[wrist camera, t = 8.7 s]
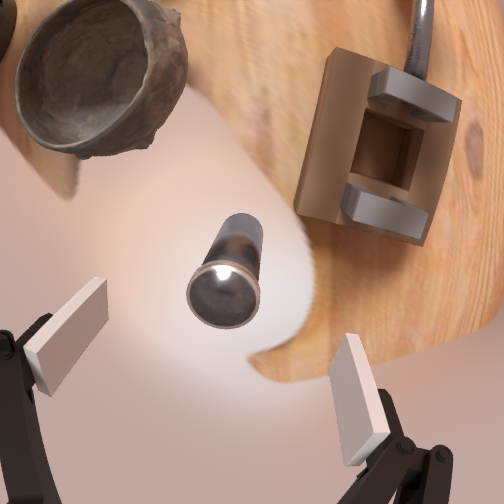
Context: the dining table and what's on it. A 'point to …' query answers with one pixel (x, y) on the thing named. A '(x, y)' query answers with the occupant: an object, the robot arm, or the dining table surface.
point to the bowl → (101, 76)
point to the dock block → (345, 141)
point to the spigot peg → (229, 275)
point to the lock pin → (419, 39)
